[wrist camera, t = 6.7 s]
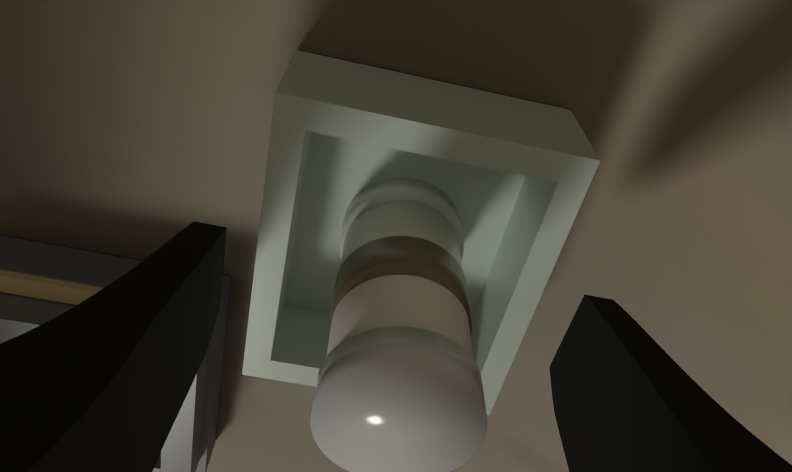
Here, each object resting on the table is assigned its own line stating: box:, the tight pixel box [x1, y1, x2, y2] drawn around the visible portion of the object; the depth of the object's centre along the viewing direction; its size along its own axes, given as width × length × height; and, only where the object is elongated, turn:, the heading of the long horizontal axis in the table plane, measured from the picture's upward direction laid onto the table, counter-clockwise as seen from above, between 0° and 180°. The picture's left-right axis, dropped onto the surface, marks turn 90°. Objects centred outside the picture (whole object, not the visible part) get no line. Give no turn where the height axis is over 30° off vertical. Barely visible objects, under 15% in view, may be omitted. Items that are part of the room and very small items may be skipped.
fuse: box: [310, 178, 487, 472], centre depth 12 cm, size 3×3×6 cm
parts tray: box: [242, 50, 600, 415], centre depth 14 cm, size 7×6×2 cm
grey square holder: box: [0, 235, 231, 472], centre depth 17 cm, size 7×6×2 cm
